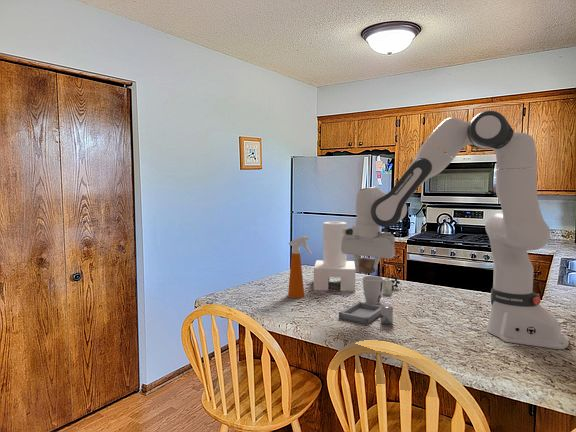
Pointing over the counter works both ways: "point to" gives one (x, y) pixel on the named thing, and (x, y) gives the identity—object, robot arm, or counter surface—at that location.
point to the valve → (389, 284)
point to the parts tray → (361, 313)
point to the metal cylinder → (386, 315)
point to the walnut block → (366, 265)
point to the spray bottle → (297, 268)
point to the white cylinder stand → (334, 259)
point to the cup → (373, 289)
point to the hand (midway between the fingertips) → (367, 267)
